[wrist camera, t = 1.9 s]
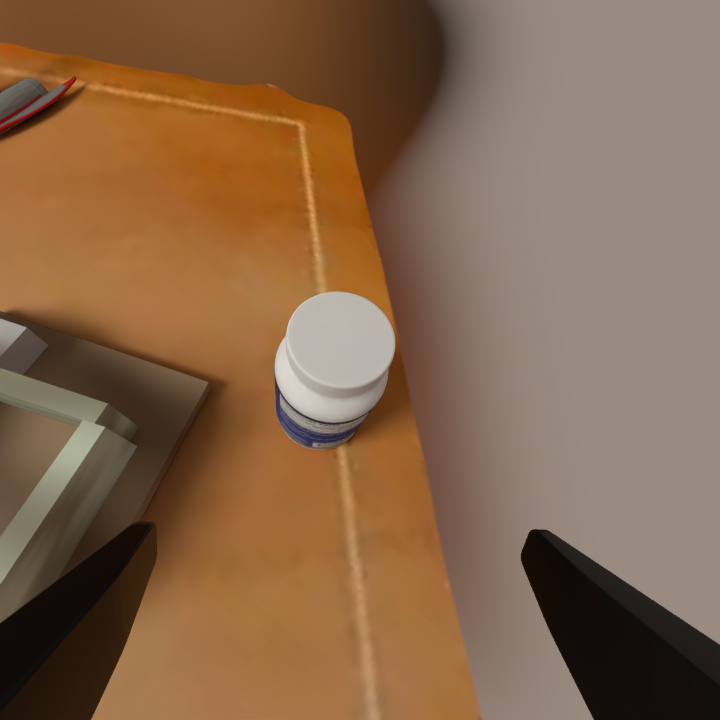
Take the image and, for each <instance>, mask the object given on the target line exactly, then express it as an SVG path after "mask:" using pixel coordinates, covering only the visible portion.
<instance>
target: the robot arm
mask: <svg viewBox="0 0 720 720" xmlns="http://www.w3.org/2000/svg"><path fill="white" fill-rule="evenodd" d="M156 556H157V533H156V525H155V524H154V523H153V522H135V523H132V524H131V525H129V526H128V527H127V528H125V529H124V530H123V531H121V532H120V533H119V534H117V535H116V536H115V537H113V538H112V539H111V540H109V541H108V542H107V543H105V544H104V545H103V546H101V547H100V548H99V549H97V550H96V551H95V552H93V553H92V554H91V555H89V556H88V557H87V558H85V559H84V560H83V561H81V562H80V563H79V564H77V565H76V566H75V567H74V568H72V569H71V570H70V571H68V572H67V573H66V574H64V575H63V576H62V577H60V578H59V579H58V580H56V581H55V582H54V583H52V584H51V585H50V586H48V587H47V588H46V589H44V590H43V591H42V592H40V593H39V594H38V595H36V596H35V597H34V598H32V599H31V600H30V601H28V602H27V603H26V604H24V605H23V606H22V607H21V608H19V609H18V610H17V611H15V612H14V613H13V614H11V615H10V616H9V617H7V618H6V619H5V620H3V621H2V622H1V623H0V720H91V719H92V717H93V714H94V712H95V710H96V708H97V706H98V704H99V702H100V699H101V697H102V695H103V693H104V691H105V689H106V686H107V684H108V682H109V680H110V678H111V676H112V674H113V671H114V669H115V667H116V665H117V663H118V661H119V658H120V656H121V654H122V652H123V649H124V647H125V644H126V642H127V639H128V637H129V634H130V631H131V628H132V626H133V623H134V620H135V617H136V614H137V612H138V609H139V606H140V603H141V601H142V598H143V595H144V592H145V589H146V587H147V584H148V581H149V578H150V575H151V573H152V570H153V567H154V564H155V561H156ZM521 561H522V565H523V567H524V570H525V572H526V575H527V577H528V580H529V582H530V585H531V587H532V589H533V592H534V594H535V597H536V599H537V602H538V604H539V607H540V609H541V611H542V614H543V617H544V618H545V621H546V623H547V626H548V628H549V630H550V633H551V635H552V637H553V639H554V641H555V643H556V645H557V647H558V649H559V651H560V653H561V655H562V657H563V659H564V661H565V663H566V665H567V667H568V669H569V671H570V673H571V675H572V677H573V679H574V681H575V683H576V685H577V687H578V689H579V691H580V693H581V695H582V697H583V699H584V701H585V703H586V705H587V707H588V709H589V711H590V713H591V715H592V717H593V719H594V720H720V645H719V644H718V643H716V642H715V641H713V640H712V639H710V638H709V637H707V636H706V635H704V634H703V633H701V632H700V631H698V630H697V629H695V628H694V627H692V626H691V625H689V624H688V623H686V622H685V621H683V620H682V619H680V618H679V617H677V616H676V615H674V614H673V613H671V612H670V611H668V610H667V609H665V608H664V607H662V606H661V605H659V604H658V603H656V602H655V601H653V600H651V599H650V598H649V597H647V596H646V595H644V594H643V593H641V592H640V591H638V590H637V589H635V588H634V587H632V586H631V585H629V584H628V583H626V582H625V581H623V580H622V579H620V578H619V577H617V576H616V575H614V574H613V573H611V572H610V571H608V570H607V569H605V568H604V567H602V566H601V565H599V564H598V563H596V562H595V561H593V560H592V559H590V558H589V557H587V556H586V555H584V554H583V553H581V552H580V551H578V550H577V549H575V548H574V547H572V546H571V545H569V544H568V543H566V542H565V541H563V540H562V539H560V538H559V537H557V536H556V535H554V534H553V533H551V532H549V531H548V530H538V529H534V530H531V531H530V532H529V534H528V537H527V539H526V542H525V545H524V547H523V549H522V553H521Z"/></svg>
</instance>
